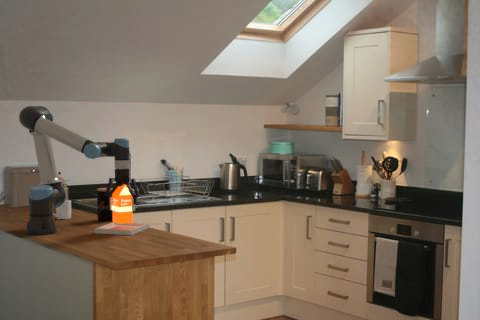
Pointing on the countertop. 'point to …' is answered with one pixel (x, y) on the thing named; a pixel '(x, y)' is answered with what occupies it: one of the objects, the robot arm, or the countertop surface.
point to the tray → (121, 228)
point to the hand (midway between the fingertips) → (122, 210)
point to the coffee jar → (103, 206)
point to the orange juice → (122, 205)
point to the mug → (63, 210)
